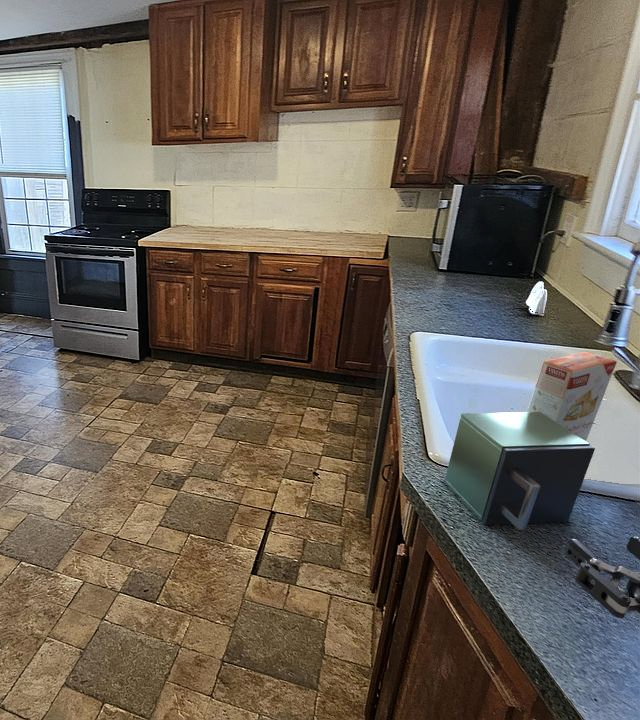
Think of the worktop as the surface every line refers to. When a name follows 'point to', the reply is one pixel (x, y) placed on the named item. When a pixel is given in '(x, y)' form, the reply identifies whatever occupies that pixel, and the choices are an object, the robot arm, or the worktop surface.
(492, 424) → the dark green box
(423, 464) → the worktop surface
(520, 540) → the worktop surface
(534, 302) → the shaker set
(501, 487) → the door
